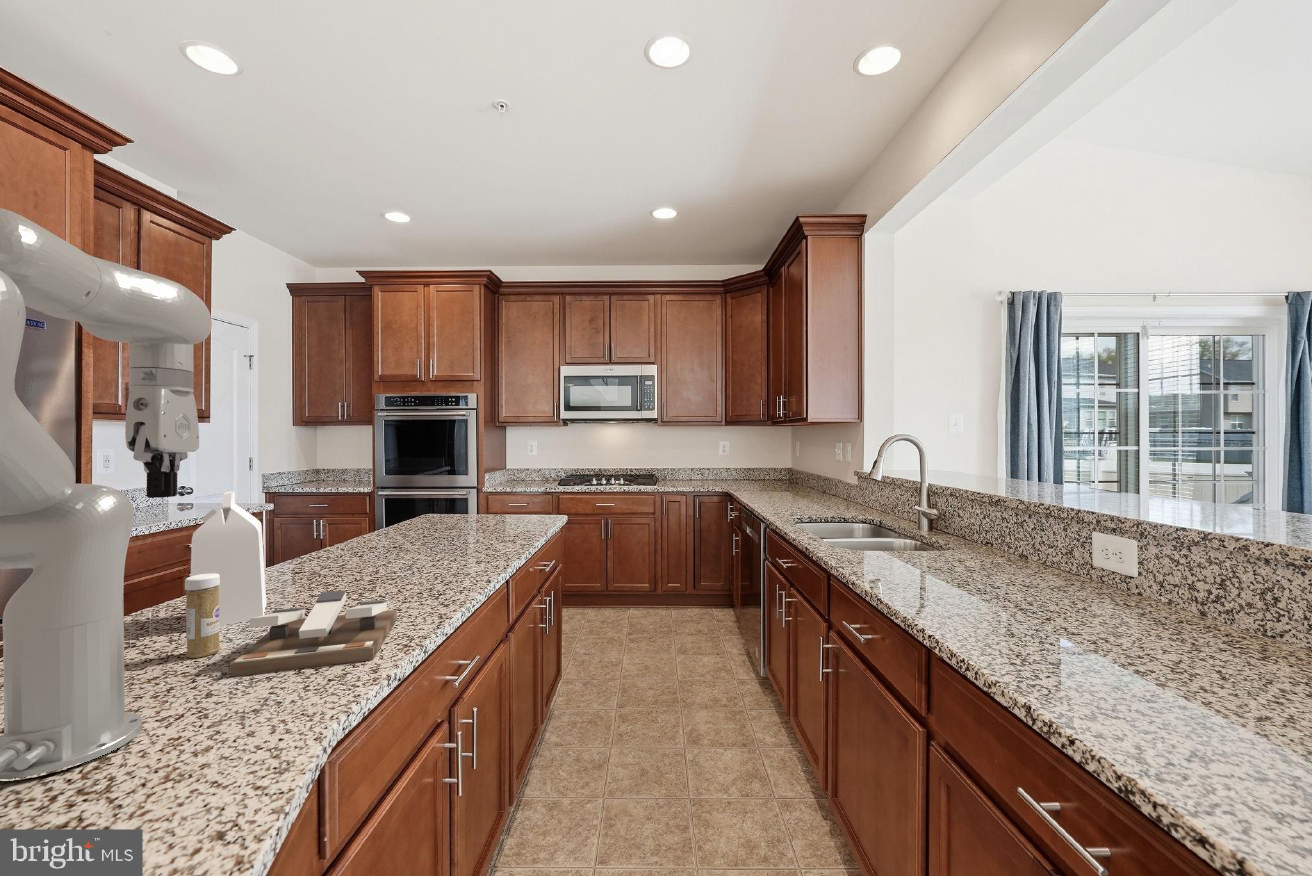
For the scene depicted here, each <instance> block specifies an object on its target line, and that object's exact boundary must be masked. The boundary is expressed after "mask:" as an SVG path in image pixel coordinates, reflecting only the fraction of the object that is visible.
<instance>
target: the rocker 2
mask: <svg viewBox="0 0 1312 876" xmlns="http://www.w3.org/2000/svg"><path fill="white" fill-rule="evenodd" d="M387 607H388V599H382V600H380V599H379V600H371V601H363V602H360V603H359V605H357V606H353V607H350V608H346V609H345V615H346V619H347V618H358V617H368V616H373V615H376V614H378V613H381V612H383V611H388V608H387Z"/></svg>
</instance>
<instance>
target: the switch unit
mask: <svg viewBox="0 0 1312 876" xmlns="http://www.w3.org/2000/svg"><path fill="white" fill-rule="evenodd" d="M306 619H307V617H306V618H301V619H298V620H294V621H291V622H287V623H284V624H280V625H274V626H270V627H269V631H268V632H267V633H266V634H265V635H263V636H262V637H260V639H258V640H257V641H256V642H255V643H253V644H252V645H251V646H250V647H249V648H247V649H246V650H245V651H244V652H243V653H241V654H240V655H239V656H238V657H236V658H235V659H234V660H232V662H230V663H229V677H237V676H245V675H254V674H263V673H272V672H280V671H281V672H282V671H289V670H297V669H306V668H314V667H322V666H323V667H324V666H331V665H341V664H349V663H355V662H356V663H358V662H365V661H374V659H375V657H376V655H377V654H378V652H379V650H380V649H381V647H382V646H383V644H384V642H385V640H386V639H387V637H388V636H389V634H390V632H391V630H392V629H393V627H394V626H395V624H396V622H397V621H398V610H397V609H393V610H391V609H390V610H385V611H383V612H381V613H378V614H376V615H373V616H368V617H358V618H347V619H346V614H338V616H337V618H336V620H335V621H334V623H333V625H332V627H331V629H330V631H329V633H328V635H327V636H322V637H312V638H302V639H300V637H299V630H300V628H301V626H302V625H303V623H304V622H305V620H306Z"/></svg>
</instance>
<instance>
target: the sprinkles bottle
mask: <svg viewBox="0 0 1312 876" xmlns="http://www.w3.org/2000/svg"><path fill="white" fill-rule="evenodd" d="M219 584H220V575H219V574H216V573H209V574H200V575H195V576H191V575H190V576H189V577H186V578H185V579H184V590H185V592H186V593H185V595H186V599H185V600H186V604H185V605H186V606H185V607H186V608H185V629H186V630H185V631H186V633H185V636H186V637H185V638H186V654H185V657H187V658H189V659H196V658H205V657H208V656H211V655H214V654H216V653H217V652H219V651H220V650H221V645H220V629H221V628H220V627H221V626H220V617H219V590H218V588H219Z"/></svg>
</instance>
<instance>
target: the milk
mask: <svg viewBox="0 0 1312 876" xmlns="http://www.w3.org/2000/svg"><path fill="white" fill-rule="evenodd" d="M235 494H236V492H235V491H226V492H224V493H223V494H222V505H221V508H220V509H219V510H215V508H212V509H210V510H209V512H207V513H206V514H205V515H204V516H203V517H202V518H201V519H200V520H201V521H202V522H204V523H202V524H201V525H200V526H199V527H198V528H197V529H196V530H195V531H194V532H192V537H191V547H190V549H191V551H190V552H191V553H190V577H191V576H195V575H200V574H209V573H216V574H219V575H220V584H219V588H218V590H219V617H220V627H223V626H222V625H226V624H232V623H238V624H240V623H239V622H242V621H249V620H250V618H254V617H258V616H262V615H265V614H264V612H265V613H266V609H265V607H266V608H267V593H266V590H267V588H266V576H265V558H264V557H265V555H264V541H263V540H264V539H263V526H262V522H261V521H260V520H259V519H258V518H256V517H255V516H254V515H252V514H251V513H250V512H248V511H246V510H245V509H244V508H242V507H240V506H239V505H238V504H236V495H235ZM232 625H233V624H232ZM226 626H227V625H226Z"/></svg>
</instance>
